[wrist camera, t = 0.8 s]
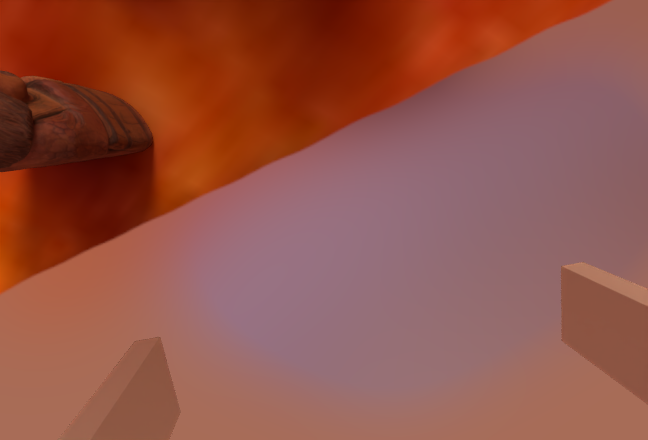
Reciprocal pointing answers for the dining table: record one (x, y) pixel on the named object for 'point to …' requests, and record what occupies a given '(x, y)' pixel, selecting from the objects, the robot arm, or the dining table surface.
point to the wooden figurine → (63, 124)
